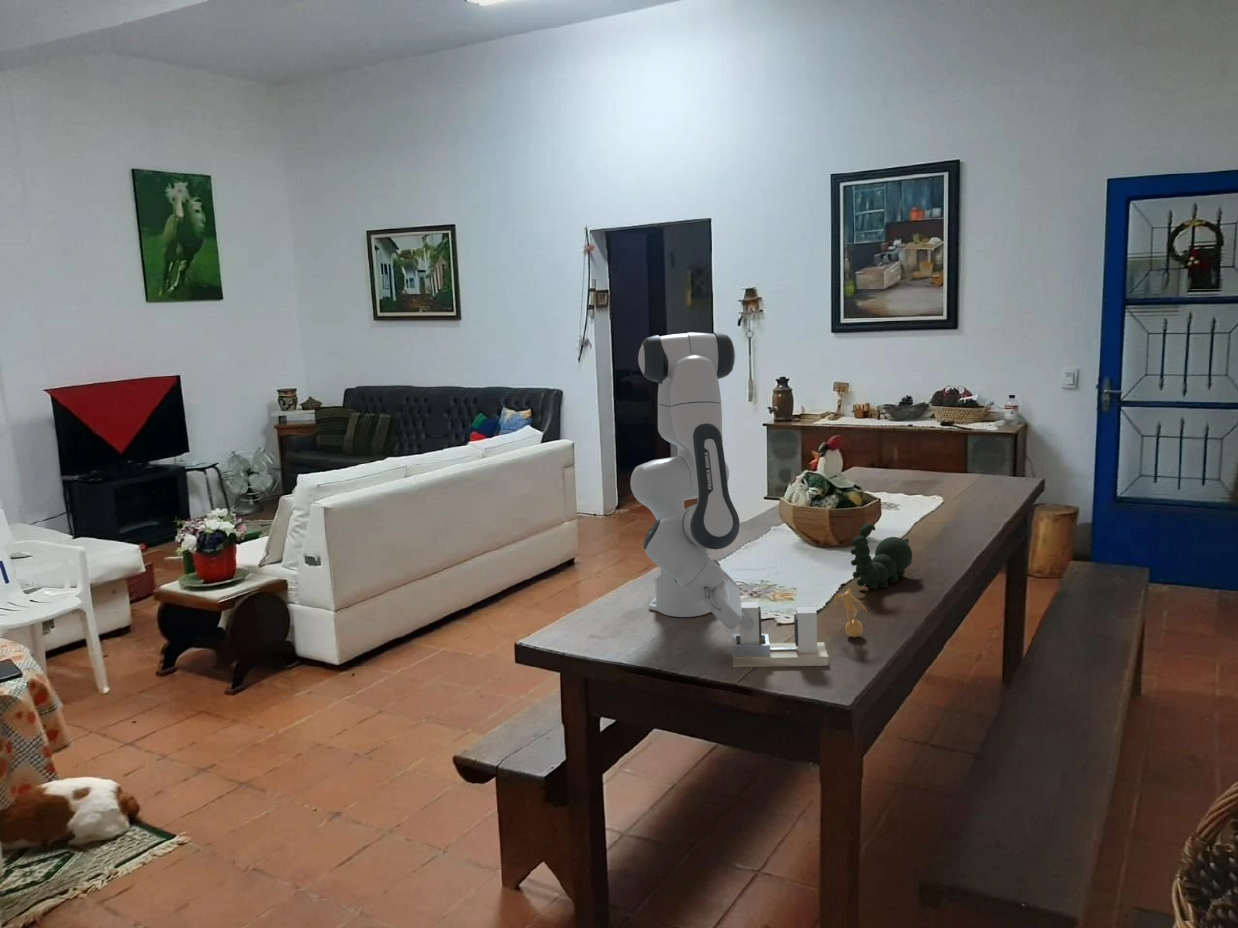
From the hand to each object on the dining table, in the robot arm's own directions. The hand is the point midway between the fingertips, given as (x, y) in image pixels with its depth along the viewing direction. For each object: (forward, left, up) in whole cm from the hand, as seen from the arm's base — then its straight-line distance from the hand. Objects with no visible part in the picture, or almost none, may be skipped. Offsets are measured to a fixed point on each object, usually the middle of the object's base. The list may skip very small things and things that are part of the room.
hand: (752, 622), depth 208 cm
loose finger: (0, -1, -5) cm, 5 cm away
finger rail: (0, +6, -8) cm, 10 cm away
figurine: (-11, +23, -9) cm, 27 cm away
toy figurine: (-49, +36, -9) cm, 61 cm away
